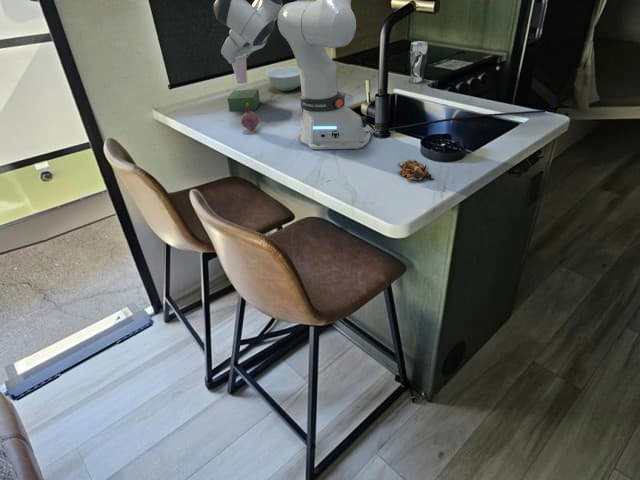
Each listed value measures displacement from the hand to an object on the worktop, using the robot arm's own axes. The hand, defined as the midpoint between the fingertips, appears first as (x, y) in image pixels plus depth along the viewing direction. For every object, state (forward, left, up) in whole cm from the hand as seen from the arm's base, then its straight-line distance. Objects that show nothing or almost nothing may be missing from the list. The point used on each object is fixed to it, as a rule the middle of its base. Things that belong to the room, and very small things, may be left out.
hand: (237, 59), depth 160 cm
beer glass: (-62, -38, -18) cm, 75 cm away
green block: (0, 0, -17) cm, 18 cm away
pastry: (-70, +44, -18) cm, 85 cm away
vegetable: (-13, +23, -18) cm, 32 cm away
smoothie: (-1, 0, -8) cm, 8 cm away
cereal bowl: (-9, -24, -18) cm, 31 cm away
